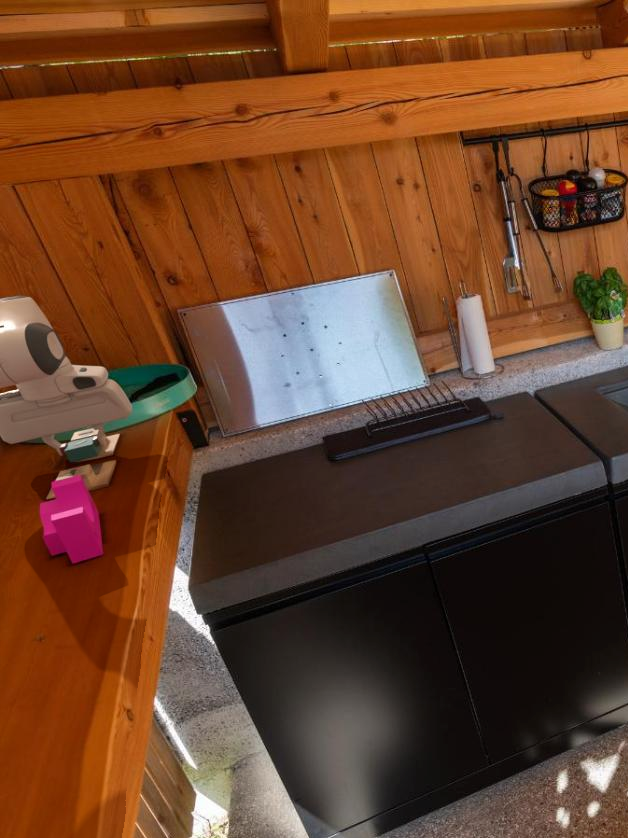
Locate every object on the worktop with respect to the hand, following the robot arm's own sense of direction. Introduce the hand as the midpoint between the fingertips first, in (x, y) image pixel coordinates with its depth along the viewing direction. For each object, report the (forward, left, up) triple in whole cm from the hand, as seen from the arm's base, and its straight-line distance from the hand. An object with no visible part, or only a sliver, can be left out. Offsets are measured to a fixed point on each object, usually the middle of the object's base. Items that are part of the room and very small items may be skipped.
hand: (83, 449), depth 147 cm
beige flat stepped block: (0, +3, -2) cm, 3 cm away
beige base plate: (+1, -12, -2) cm, 12 cm away
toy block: (+4, -38, -2) cm, 38 cm away
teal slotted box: (0, 0, -1) cm, 1 cm away
